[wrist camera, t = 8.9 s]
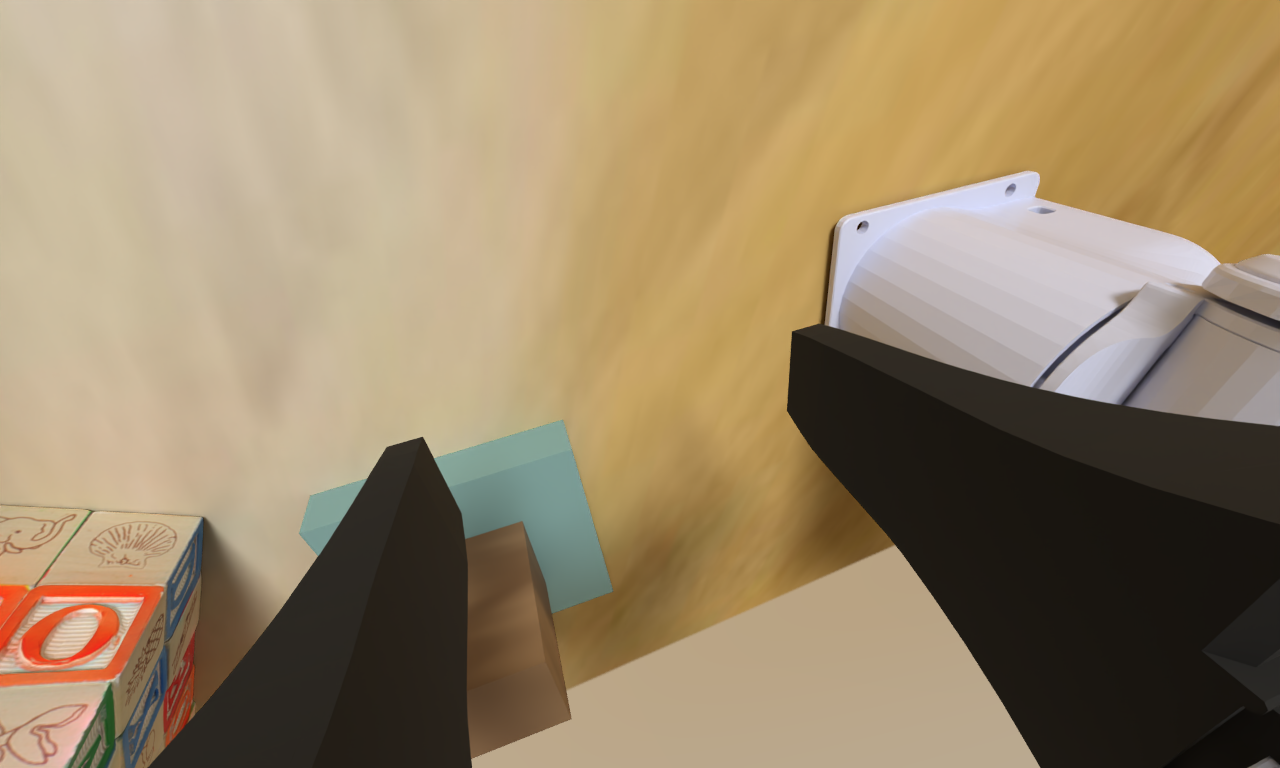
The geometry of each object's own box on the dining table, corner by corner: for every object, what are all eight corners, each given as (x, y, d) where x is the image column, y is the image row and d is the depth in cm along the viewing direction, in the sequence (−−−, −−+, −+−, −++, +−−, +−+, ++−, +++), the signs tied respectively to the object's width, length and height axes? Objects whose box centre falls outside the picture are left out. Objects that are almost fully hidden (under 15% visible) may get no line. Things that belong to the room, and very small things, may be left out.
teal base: (560, 411, 22) (571, 449, 20) (601, 551, 28) (613, 591, 26) (313, 484, 20) (298, 533, 18) (413, 617, 26) (411, 664, 24)
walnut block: (522, 521, 21) (545, 662, 16) (545, 582, 24) (571, 719, 19) (410, 556, 20) (400, 715, 15) (447, 616, 23) (449, 767, 18)
